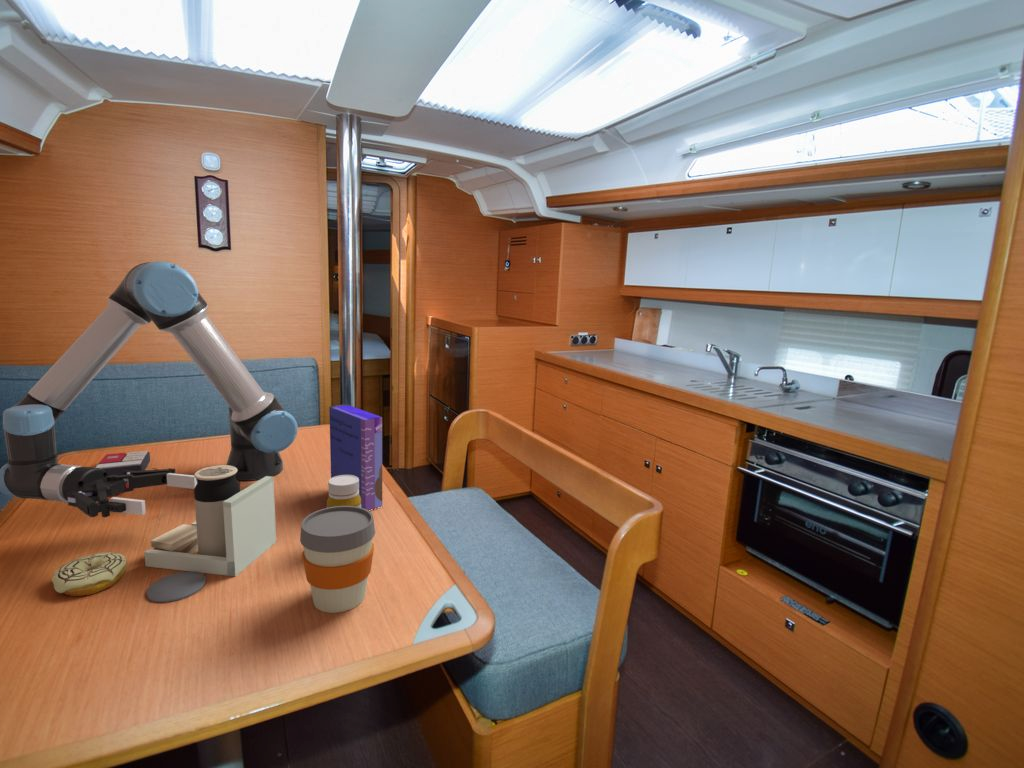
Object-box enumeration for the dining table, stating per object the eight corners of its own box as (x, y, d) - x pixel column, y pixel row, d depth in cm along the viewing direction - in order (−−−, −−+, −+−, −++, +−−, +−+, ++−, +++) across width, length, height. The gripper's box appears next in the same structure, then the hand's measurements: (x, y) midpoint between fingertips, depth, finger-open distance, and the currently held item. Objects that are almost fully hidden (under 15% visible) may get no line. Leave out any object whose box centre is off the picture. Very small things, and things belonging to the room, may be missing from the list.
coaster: (199, 568, 99) (199, 566, 99) (211, 589, 92) (211, 587, 92) (142, 585, 93) (142, 583, 93) (151, 609, 86) (151, 606, 86)
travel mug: (230, 565, 100) (224, 479, 97) (190, 563, 100) (183, 477, 97) (250, 545, 108) (246, 465, 105) (213, 544, 108) (208, 463, 105)
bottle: (368, 541, 112) (367, 477, 110) (348, 556, 106) (347, 488, 103) (341, 535, 114) (340, 472, 112) (320, 549, 108) (318, 482, 105)
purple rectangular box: (382, 507, 130) (382, 416, 125) (365, 512, 126) (364, 419, 122) (347, 487, 141) (346, 403, 137) (331, 491, 138) (329, 405, 134)
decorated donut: (48, 607, 86) (45, 586, 85) (59, 576, 95) (56, 557, 94) (125, 588, 92) (123, 569, 91) (128, 561, 101) (126, 543, 100)
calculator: (149, 449, 155) (141, 462, 142) (150, 462, 156) (142, 477, 143) (104, 453, 150) (91, 467, 137) (105, 467, 151) (93, 482, 138)
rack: (145, 566, 99) (138, 493, 96) (196, 533, 112) (191, 469, 109) (235, 576, 97) (230, 502, 94) (276, 542, 110) (273, 476, 107)
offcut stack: (147, 560, 101) (145, 543, 100) (185, 536, 111) (184, 520, 110) (178, 564, 100) (177, 546, 99) (214, 539, 110) (212, 523, 109)
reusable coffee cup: (355, 624, 85) (354, 541, 82) (287, 613, 87) (283, 532, 84) (386, 583, 97) (386, 509, 94) (326, 574, 99) (324, 501, 96)
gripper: (130, 480, 118) (214, 489, 116) (14, 528, 94) (119, 540, 91) (127, 449, 117) (213, 457, 115) (10, 489, 92) (115, 500, 90)
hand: (171, 494), depth 103 cm, fingers open, 13 cm apart
